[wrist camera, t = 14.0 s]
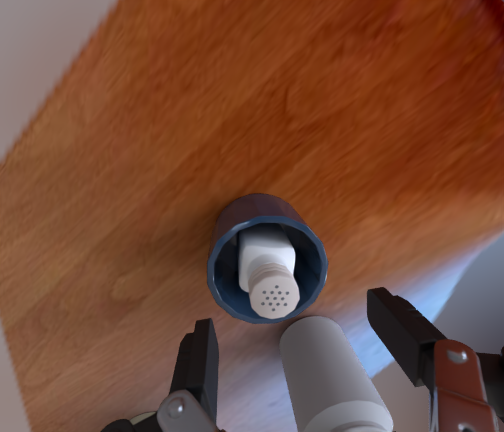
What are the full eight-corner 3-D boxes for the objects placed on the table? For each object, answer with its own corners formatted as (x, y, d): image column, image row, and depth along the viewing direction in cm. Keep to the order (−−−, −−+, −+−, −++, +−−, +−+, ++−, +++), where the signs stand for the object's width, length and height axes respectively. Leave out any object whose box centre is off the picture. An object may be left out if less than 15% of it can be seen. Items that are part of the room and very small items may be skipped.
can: (336, 303, 29) (404, 413, 18) (344, 353, 31) (409, 478, 20) (271, 320, 29) (298, 441, 18) (284, 369, 31) (316, 503, 20)
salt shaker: (240, 218, 24) (246, 268, 15) (281, 221, 25) (311, 271, 16) (236, 256, 26) (240, 324, 17) (276, 258, 26) (301, 325, 17)
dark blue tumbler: (198, 259, 26) (188, 302, 19) (235, 177, 24) (238, 195, 17) (277, 288, 28) (292, 337, 21) (318, 215, 26) (349, 244, 19)
